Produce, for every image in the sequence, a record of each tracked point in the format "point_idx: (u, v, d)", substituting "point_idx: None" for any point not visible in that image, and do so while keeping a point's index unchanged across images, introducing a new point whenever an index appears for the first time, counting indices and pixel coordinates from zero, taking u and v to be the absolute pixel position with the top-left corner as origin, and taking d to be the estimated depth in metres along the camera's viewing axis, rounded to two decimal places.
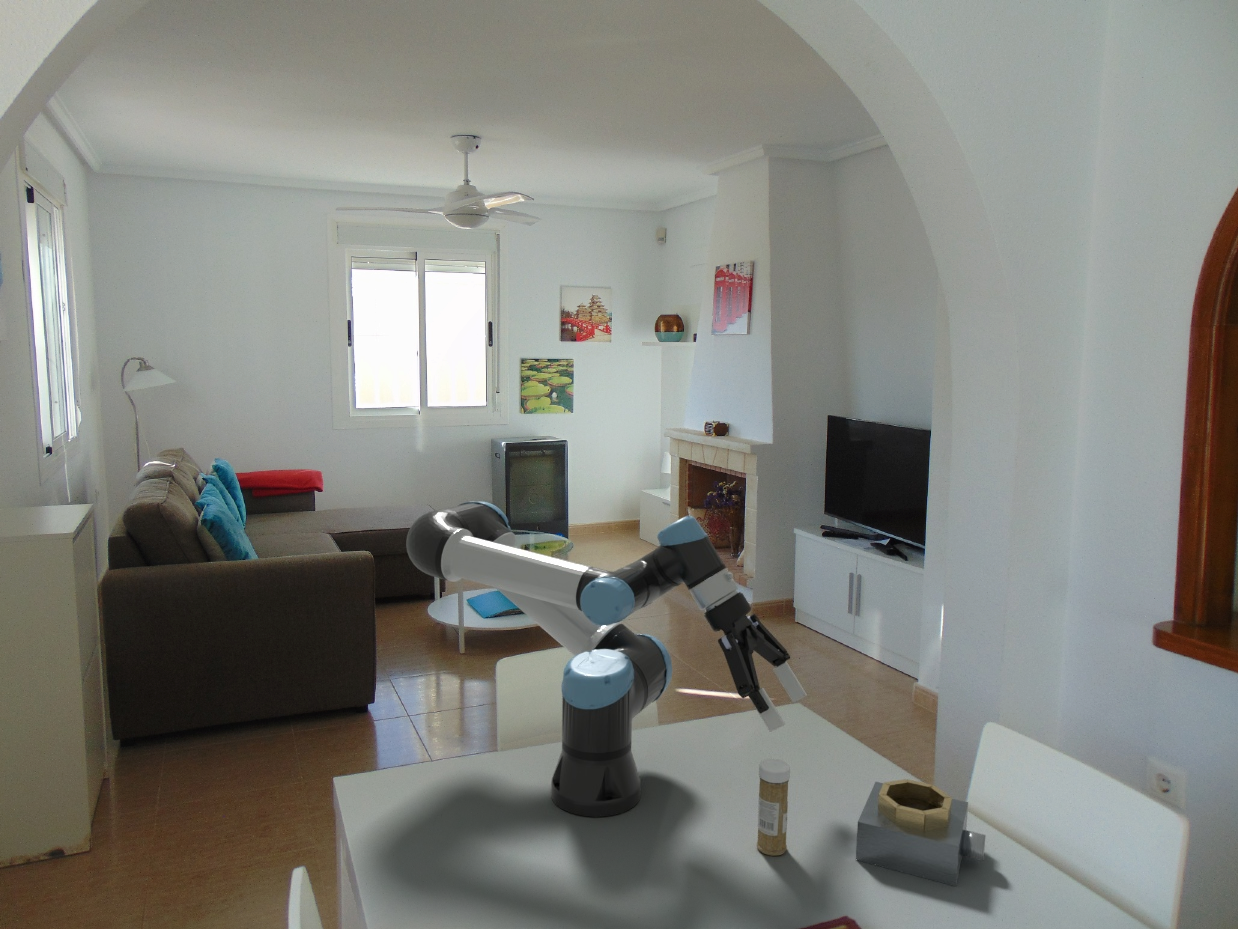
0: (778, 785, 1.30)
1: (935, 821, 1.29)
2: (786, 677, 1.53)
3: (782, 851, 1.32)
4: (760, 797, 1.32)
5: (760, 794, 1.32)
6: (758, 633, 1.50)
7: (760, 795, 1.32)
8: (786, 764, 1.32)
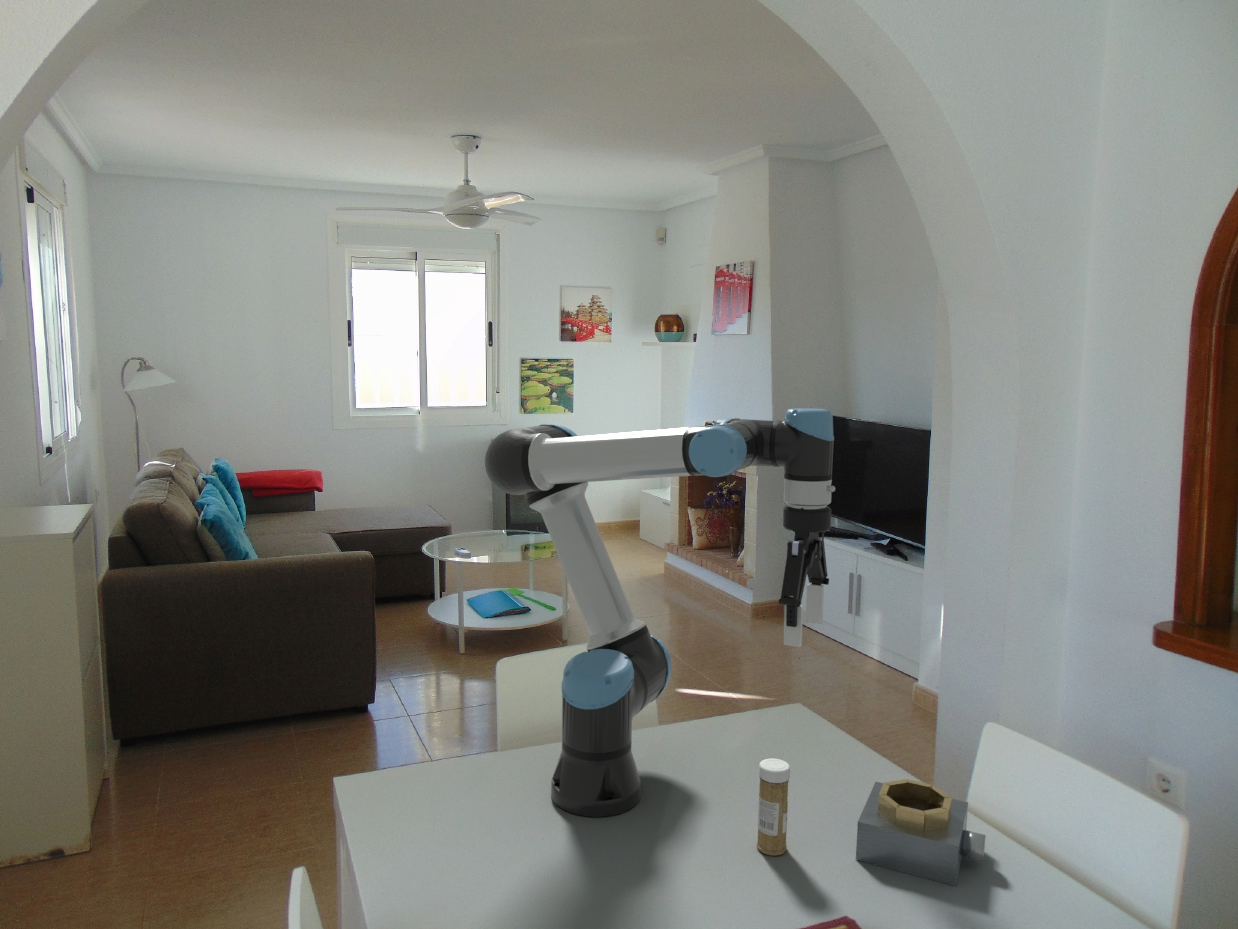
0: (778, 785, 1.30)
1: (935, 821, 1.29)
2: (814, 598, 1.50)
3: (782, 851, 1.32)
4: (760, 797, 1.32)
5: (760, 794, 1.32)
6: (820, 551, 1.44)
7: (760, 795, 1.32)
8: (786, 764, 1.32)
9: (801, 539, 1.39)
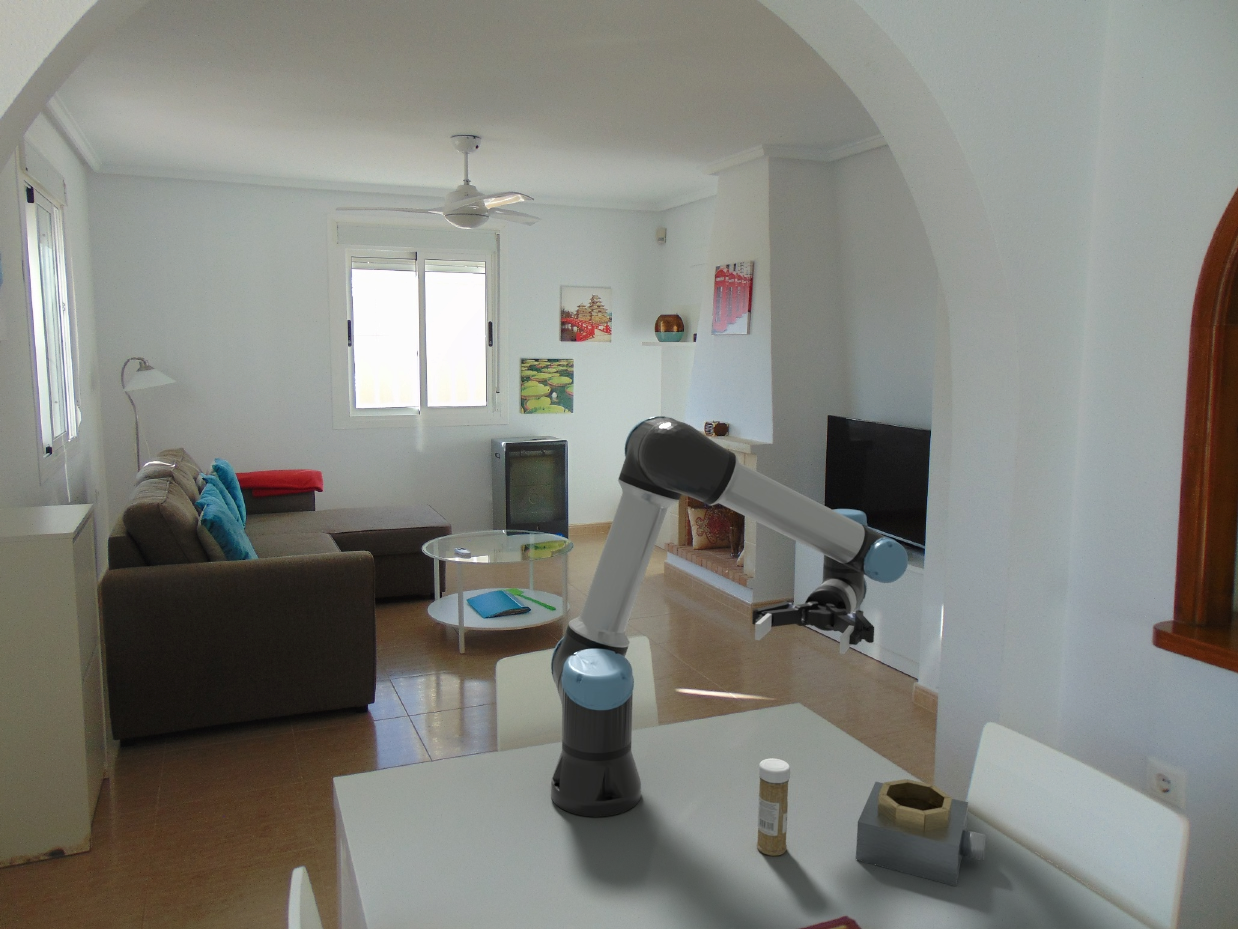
0: (778, 785, 1.30)
1: (935, 821, 1.29)
2: (767, 625, 1.46)
3: (782, 851, 1.32)
4: (760, 797, 1.32)
5: (760, 794, 1.32)
6: None
7: (760, 795, 1.32)
8: (786, 764, 1.32)
9: None
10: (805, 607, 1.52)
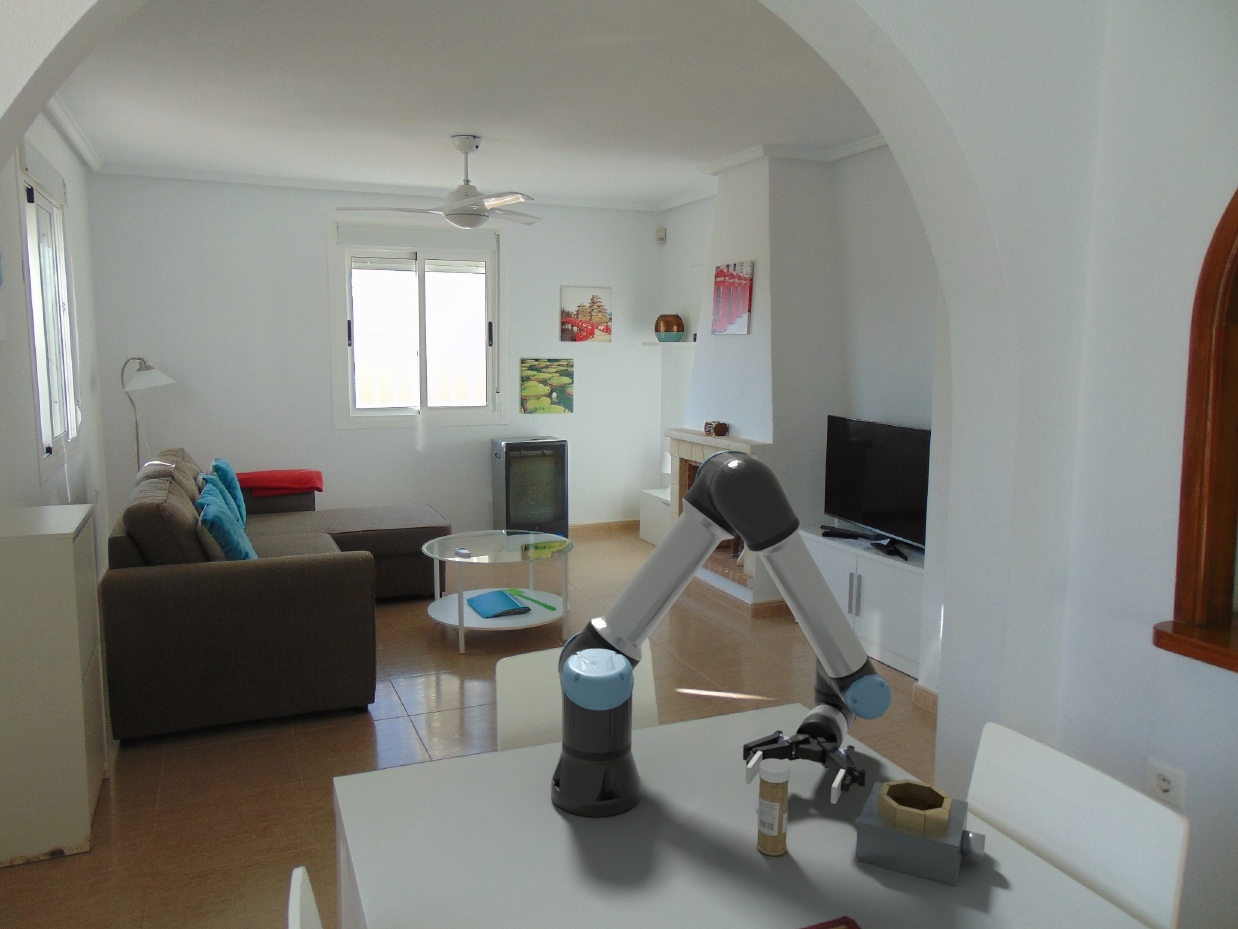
0: (778, 785, 1.30)
1: (935, 821, 1.29)
2: (758, 765, 1.45)
3: (782, 851, 1.32)
4: (760, 797, 1.32)
5: (760, 794, 1.32)
6: None
7: (760, 795, 1.32)
8: (786, 764, 1.32)
9: None
10: (796, 742, 1.51)
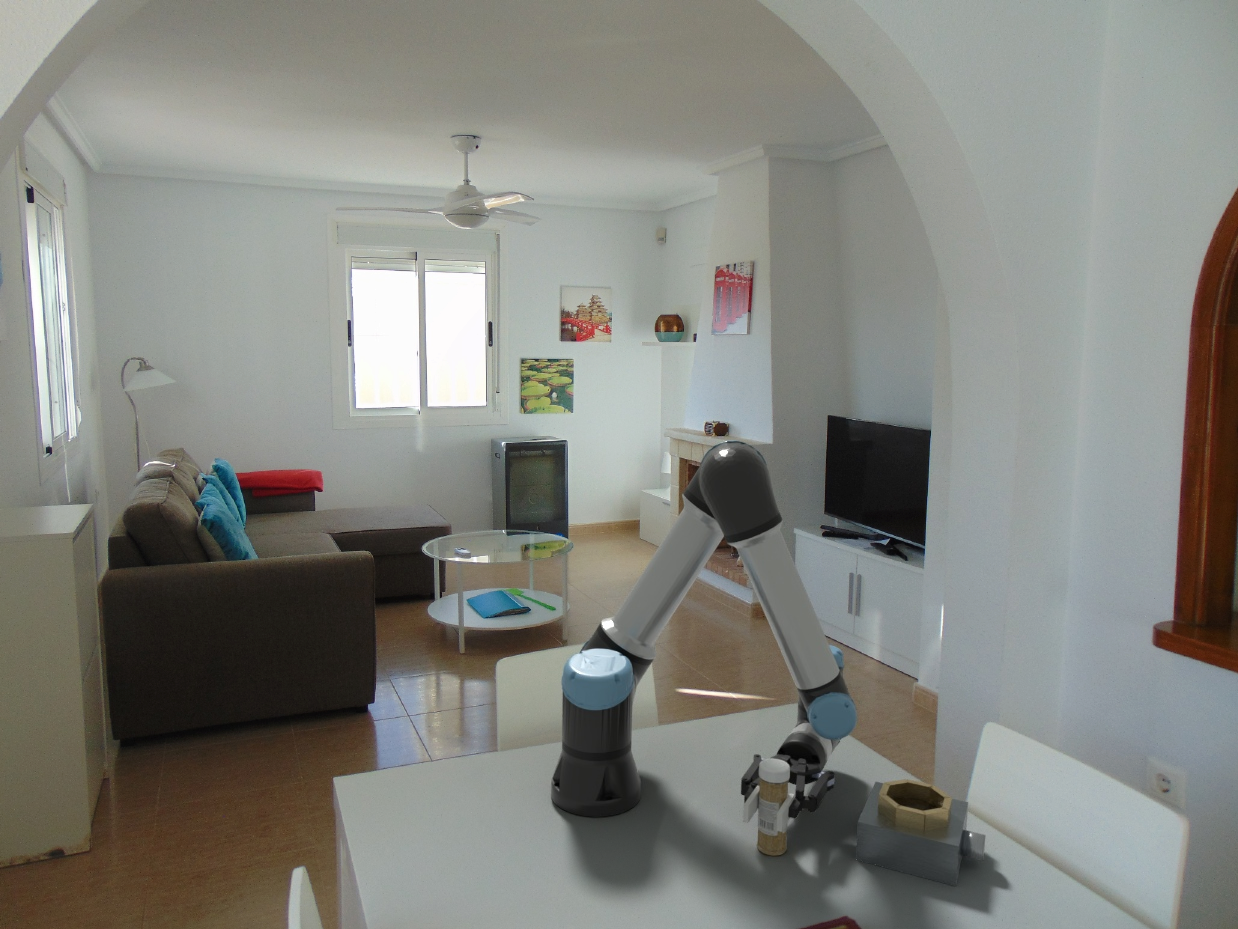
0: (778, 785, 1.30)
1: (935, 821, 1.29)
2: (757, 802, 1.33)
3: (782, 851, 1.32)
4: (760, 797, 1.32)
5: (760, 794, 1.32)
6: None
7: (760, 795, 1.32)
8: (786, 764, 1.32)
9: None
10: None
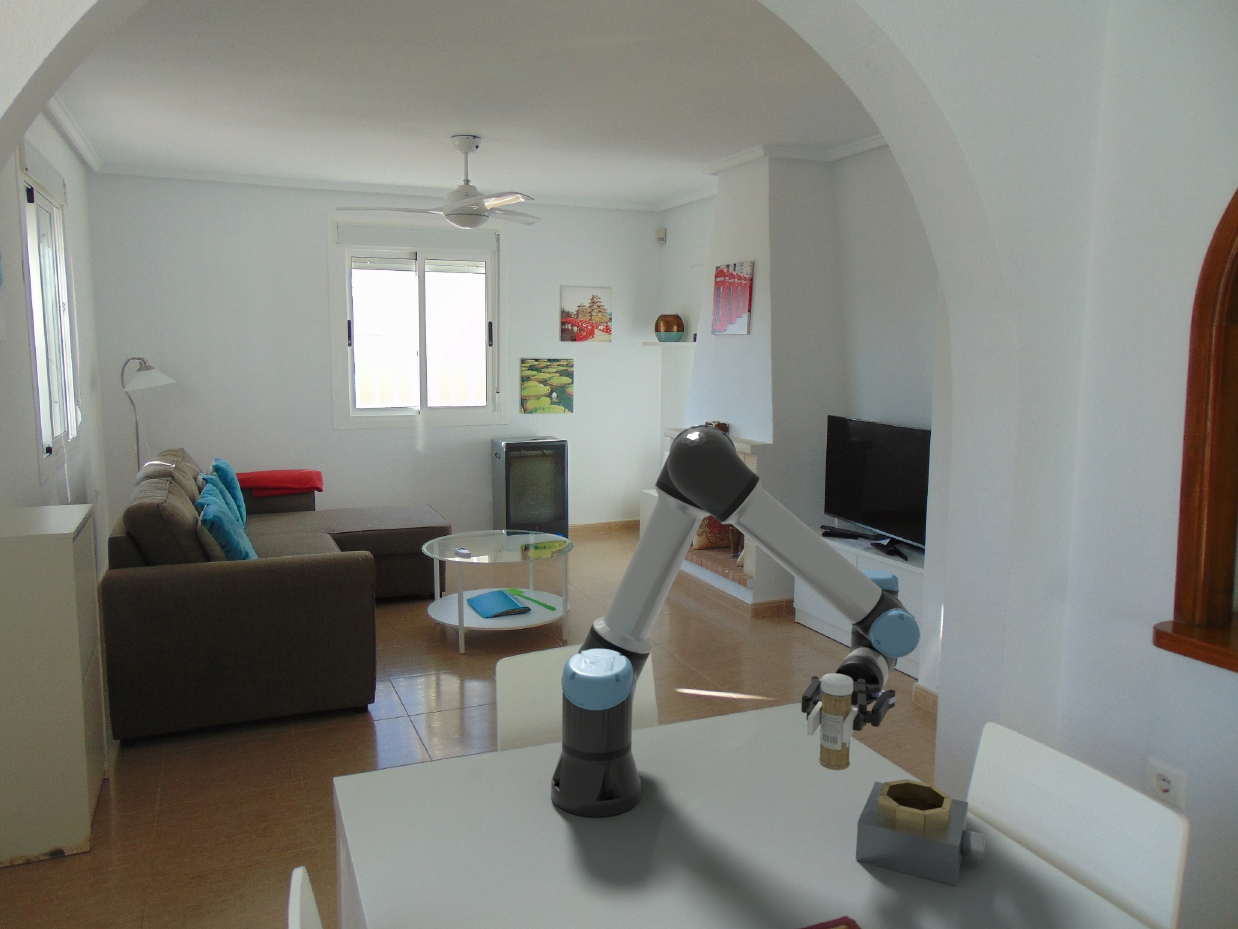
0: (842, 698, 1.29)
1: (935, 821, 1.29)
2: (819, 716, 1.31)
3: (846, 766, 1.30)
4: (823, 711, 1.30)
5: (823, 708, 1.30)
6: None
7: (823, 709, 1.30)
8: (849, 678, 1.30)
9: None
10: None
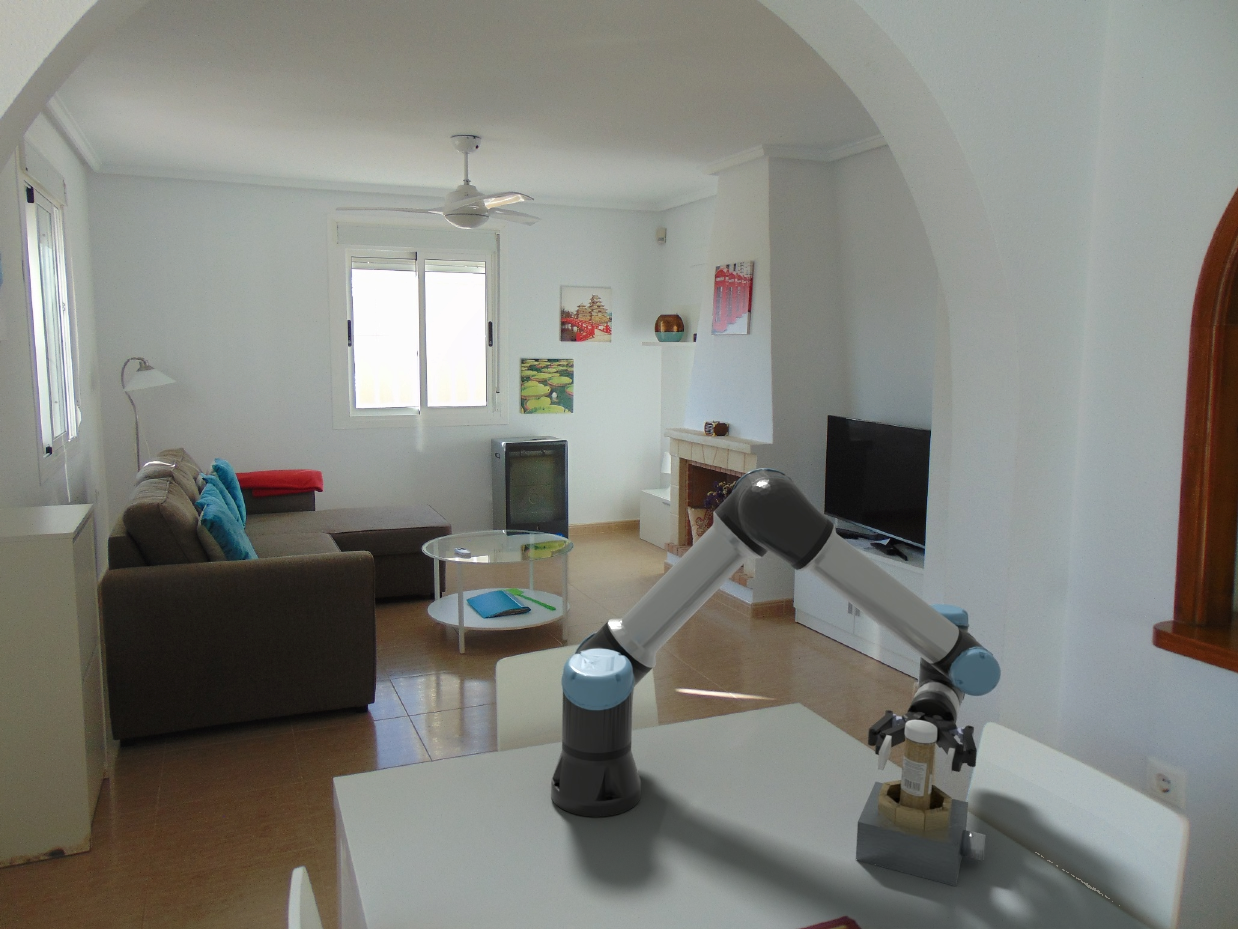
0: (926, 745, 1.30)
1: (935, 821, 1.29)
2: (888, 750, 1.34)
3: None
4: (906, 757, 1.32)
5: (906, 754, 1.32)
6: None
7: (906, 755, 1.32)
8: (933, 725, 1.32)
9: None
10: None
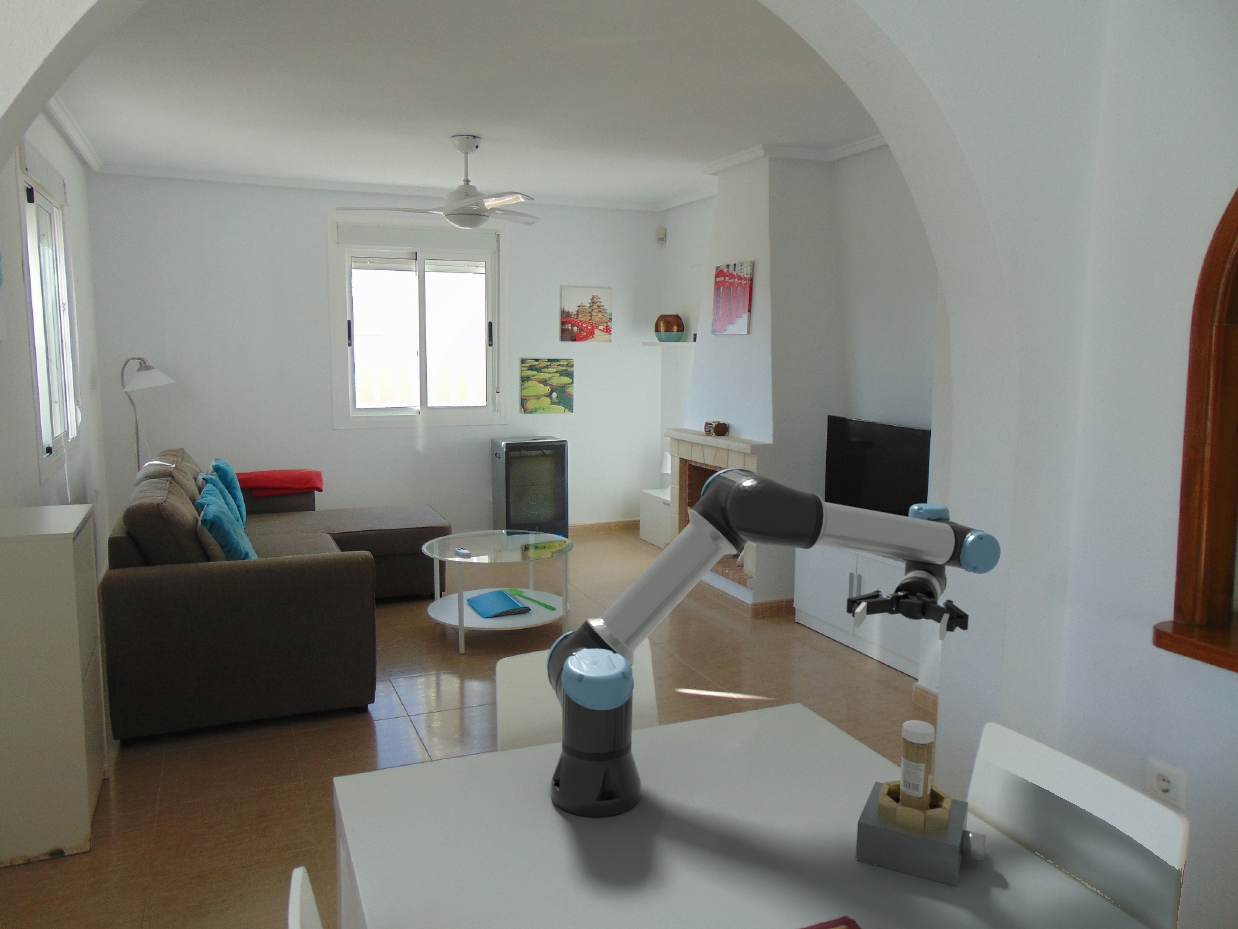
0: (924, 746, 1.30)
1: (935, 821, 1.29)
2: (863, 613, 1.53)
3: None
4: (904, 758, 1.32)
5: (904, 755, 1.32)
6: None
7: (904, 756, 1.32)
8: (930, 725, 1.32)
9: None
10: (897, 596, 1.59)
